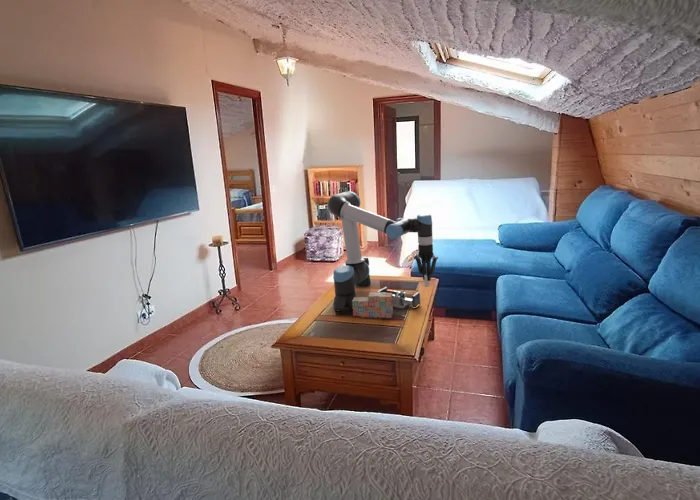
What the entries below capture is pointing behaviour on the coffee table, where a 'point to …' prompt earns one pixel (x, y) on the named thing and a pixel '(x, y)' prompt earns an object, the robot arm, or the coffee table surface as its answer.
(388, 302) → the stack of blocks
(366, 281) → the coffee jar
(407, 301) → the plunger
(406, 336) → the coffee table surface
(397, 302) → the gauge body
